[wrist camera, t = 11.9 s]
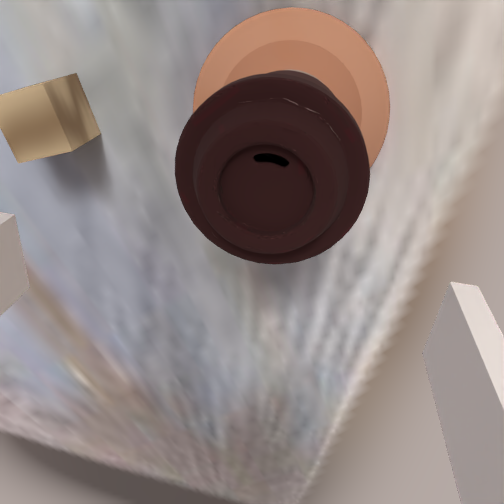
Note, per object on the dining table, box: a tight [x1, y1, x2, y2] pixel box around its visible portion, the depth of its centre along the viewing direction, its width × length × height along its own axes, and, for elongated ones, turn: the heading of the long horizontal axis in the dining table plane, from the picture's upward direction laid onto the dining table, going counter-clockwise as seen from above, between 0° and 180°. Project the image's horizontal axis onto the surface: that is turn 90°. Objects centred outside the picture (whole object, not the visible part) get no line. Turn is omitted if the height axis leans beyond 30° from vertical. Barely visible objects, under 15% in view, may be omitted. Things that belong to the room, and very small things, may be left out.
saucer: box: [193, 7, 390, 167], centre depth 34 cm, size 15×15×1 cm
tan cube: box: [0, 73, 101, 163], centre depth 35 cm, size 5×5×5 cm
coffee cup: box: [175, 70, 370, 264], centre depth 27 cm, size 10×10×15 cm
